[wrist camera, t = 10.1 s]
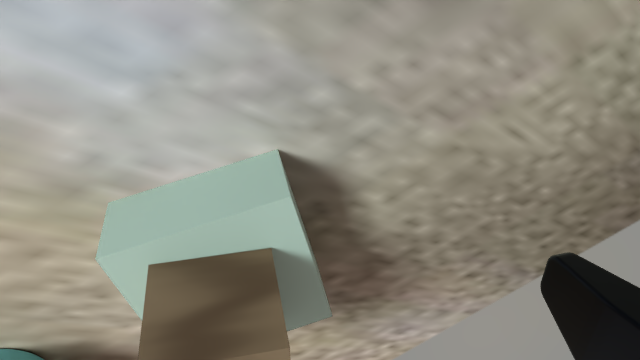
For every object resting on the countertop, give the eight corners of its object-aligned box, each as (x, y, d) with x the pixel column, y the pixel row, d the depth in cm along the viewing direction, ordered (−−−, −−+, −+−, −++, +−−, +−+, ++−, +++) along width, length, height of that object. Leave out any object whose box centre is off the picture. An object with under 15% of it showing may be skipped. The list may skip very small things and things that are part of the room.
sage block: (276, 145, 22) (290, 196, 19) (315, 259, 27) (332, 316, 24) (109, 198, 22) (95, 259, 19) (179, 304, 27) (177, 367, 24)
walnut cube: (271, 248, 20) (290, 347, 16) (276, 323, 23) (293, 424, 19) (148, 264, 19) (136, 374, 15) (169, 341, 22) (164, 450, 18)
